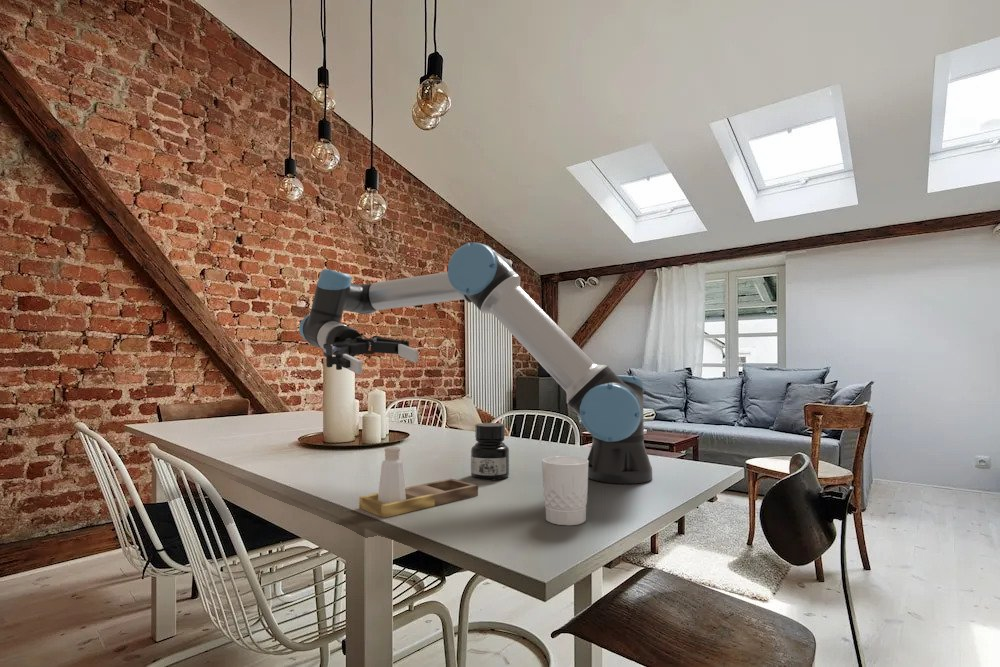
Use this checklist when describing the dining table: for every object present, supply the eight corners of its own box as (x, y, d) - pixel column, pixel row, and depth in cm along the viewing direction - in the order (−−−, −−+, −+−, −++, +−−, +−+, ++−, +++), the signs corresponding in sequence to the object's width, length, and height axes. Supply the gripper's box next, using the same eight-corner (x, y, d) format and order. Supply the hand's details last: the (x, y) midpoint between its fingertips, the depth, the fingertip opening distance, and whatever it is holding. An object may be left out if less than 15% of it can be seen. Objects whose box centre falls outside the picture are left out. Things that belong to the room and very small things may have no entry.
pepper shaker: (395, 502, 100) (396, 444, 101) (412, 508, 96) (413, 447, 97) (370, 508, 96) (371, 447, 97) (387, 514, 93) (388, 450, 93)
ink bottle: (464, 479, 119) (464, 426, 120) (474, 471, 128) (474, 421, 128) (506, 482, 117) (506, 427, 118) (514, 473, 126) (514, 422, 126)
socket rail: (451, 488, 111) (451, 478, 111) (478, 495, 105) (478, 485, 105) (359, 507, 96) (359, 496, 97) (384, 517, 90) (384, 506, 90)
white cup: (532, 520, 89) (532, 460, 89) (559, 510, 95) (558, 454, 95) (572, 530, 84) (572, 466, 84) (597, 518, 90) (597, 459, 90)
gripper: (386, 347, 134) (436, 368, 120) (289, 364, 117) (334, 391, 103) (385, 318, 133) (437, 336, 118) (287, 332, 116) (333, 354, 101)
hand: (389, 362), depth 110 cm, fingers open, 13 cm apart
